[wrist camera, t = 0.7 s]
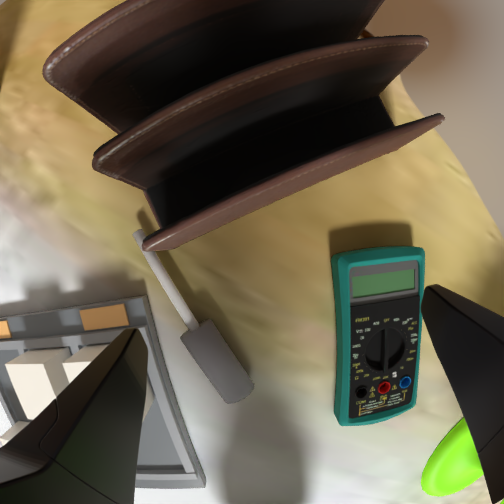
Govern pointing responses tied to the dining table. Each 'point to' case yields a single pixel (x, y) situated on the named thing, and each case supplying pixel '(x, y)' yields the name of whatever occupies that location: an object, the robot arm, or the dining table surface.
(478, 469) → the wineglass
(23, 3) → the dining table surface
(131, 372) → the robot arm
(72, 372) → the white block
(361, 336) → the digital multimeter
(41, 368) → the cream block
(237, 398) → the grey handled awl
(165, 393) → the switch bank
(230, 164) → the letter holder
